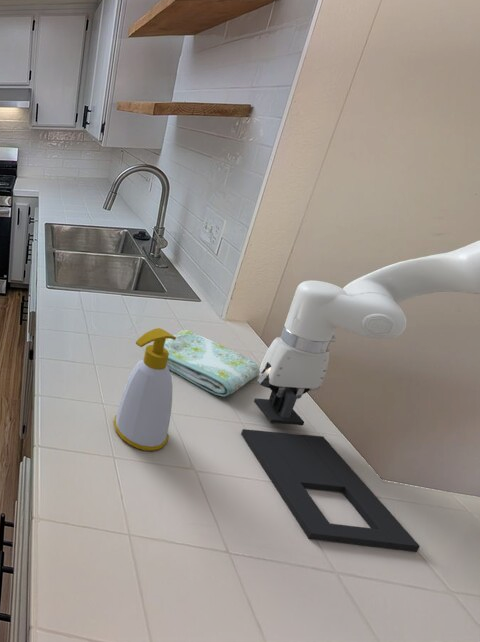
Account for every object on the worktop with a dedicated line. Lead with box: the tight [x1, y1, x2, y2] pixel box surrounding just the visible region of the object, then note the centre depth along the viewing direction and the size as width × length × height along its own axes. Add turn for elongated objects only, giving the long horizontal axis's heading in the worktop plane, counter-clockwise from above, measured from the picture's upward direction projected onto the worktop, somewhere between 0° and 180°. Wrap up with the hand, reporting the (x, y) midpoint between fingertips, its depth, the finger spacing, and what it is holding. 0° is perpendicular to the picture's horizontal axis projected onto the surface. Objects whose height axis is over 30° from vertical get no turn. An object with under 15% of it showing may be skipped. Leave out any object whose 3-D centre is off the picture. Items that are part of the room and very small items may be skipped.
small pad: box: [253, 387, 305, 426], centre depth 86 cm, size 7×7×7 cm
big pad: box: [240, 428, 421, 553], centre depth 73 cm, size 16×22×2 cm
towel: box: [164, 329, 261, 397], centre depth 105 cm, size 18×21×5 cm
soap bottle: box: [113, 327, 176, 452], centre depth 81 cm, size 11×12×26 cm
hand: (279, 407), depth 86 cm, fingers closed on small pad, 1 cm apart
